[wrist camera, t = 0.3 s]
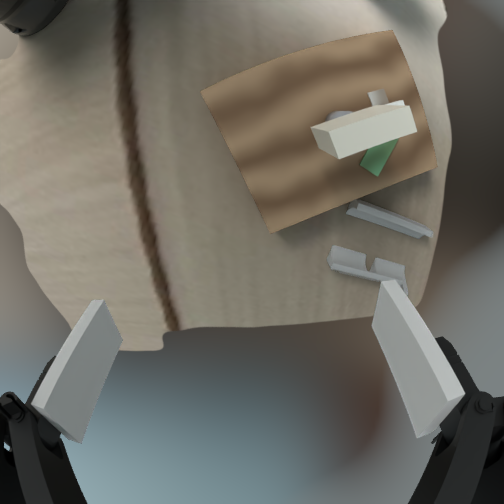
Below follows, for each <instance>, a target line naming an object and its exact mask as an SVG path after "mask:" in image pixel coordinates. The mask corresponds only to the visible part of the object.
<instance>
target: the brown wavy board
mask: <svg viewBox="0 0 504 504" xmlns="http://www.w3.org/2000/svg"><path fill="white" fill-rule="evenodd" d="M200 93H201V95H202V97H203V99H204V100H205V102H206V104H207V106H208V108H209V110H210V112H211V114H212V116H213V118H214V120H215V122H216V124H217V126H218V128H219V130H220V132H221V134H222V136H223V138H224V140H225V142H226V144H227V146H228V148H229V150H230V152H231V154H232V156H233V158H234V160H235V162H236V164H237V166H238V168H239V170H240V172H241V174H242V176H243V178H244V180H245V182H246V184H247V186H248V188H249V190H250V192H251V194H252V196H253V198H254V201H255V203H256V205H257V207H258V209H259V211H260V213H261V215H262V217H263V219H264V221H265V224H266V226H267V228H268V230H269V232H270V234H272V233H274V232H277V231H279V230H282V229H284V228H286V227H289V226H291V225H294V224H296V223H299V222H301V221H304V220H306V219H309V218H311V217H313V216H316V215H318V214H321V213H323V212H326V211H328V210H331V209H333V208H336V207H338V206H341V205H343V204H346V203H348V202H351V201H353V200H356V199H358V198H361V197H363V196H366V195H368V194H371V193H373V192H376V191H378V190H381V189H383V188H386V187H388V186H391V185H393V184H396V183H398V182H401V181H403V180H406V179H408V178H411V177H413V176H416V175H418V174H421V173H424V172H426V171H429V170H431V169H434V168H436V167H438V166H437V161H436V156H435V151H434V147H433V142H432V138H431V134H430V130H429V126H428V123H427V119H426V116H425V112H424V109H423V106H422V102H421V99H420V96H419V93H418V90H417V87H416V85H415V82H414V79H413V76H412V74H411V71H410V69H409V66H408V64H407V61H406V59H405V56H404V54H403V52H402V49H401V47H400V45H399V43H398V41H397V38H396V36H395V34H394V32H393V30H389V31H382V32H375V33H370V34H364V35H359V36H354V37H349V38H345V39H340V40H336V41H332V42H328V43H324V44H320V45H317V46H313V47H310V48H306V49H303V50H300V51H297V52H293V53H290V54H287V55H284V56H281V57H279V58H276V59H273V60H270V61H268V62H265V63H262V64H260V65H257V66H255V67H252V68H250V69H247V70H245V71H242V72H240V73H238V74H235V75H233V76H231V77H229V78H226V79H224V80H222V81H220V82H218V83H216V84H213V85H211V86H209V87H207V88H205V89H203V90H201V91H200ZM399 100H403V101H404V104H405V106H410V109H411V112H412V115H413V119H414V122H415V125H416V129H417V132H415V133H412V134H409V135H406V136H403V137H400V138H397V139H394V140H391V141H388V142H385V143H382V144H380V145H377V146H374V147H371V148H368V149H366V150H363V151H360V152H357V153H355V154H352V155H349V156H347V157H344V158H341V159H337V158H336V157H334V156H332V155H330V154H329V153H327V152H325V151H323V150H321V149H319V147H318V145H317V142H316V140H315V137H314V135H313V132H312V130H311V128H310V127H313V126H315V125H318V124H321V123H324V122H325V119H326V117H327V115H328V114H329V113H331V112H333V111H351V112H356V111H359V110H362V109H365V108H369V107H372V106H375V105H385V104H388V103H392V102H395V101H399Z"/></svg>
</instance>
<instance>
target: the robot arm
mask: <svg viewBox="0 0 504 504" xmlns="http://www.w3.org/2000/svg"><path fill="white" fill-rule="evenodd" d="M67 1H68V0H0V24H2V25H3V26H4V27H6V28H7V29H8V30H10V31H11V32H12V33H14V34H18V35H24V36H27V35H31V34H34V33H36V32H38V31H39V30H41V29H42V28H44V27H45V26H46V25H47V24H49V23H50V22H51V21H52V20H53V19H54V18H55V17H56V16H57V15H58V13H59V12H60V11H61V10H62V8H63V7H64V6H65V4H66V3H67ZM372 328H373V330H374V333H375V335H376V337H377V339H378V341H379V344H380V346H381V348H382V350H383V352H384V355H385V357H386V360H387V362H388V364H389V367H390V369H391V371H392V374H393V376H394V379H395V381H396V384H397V386H398V389H399V391H400V394H401V396H402V399H403V401H404V404H405V407H406V409H407V412H408V415H409V417H410V420H411V423H412V426H413V429H414V432H415V434H416V437H417V438H419V437H421V436H424V435H427V434H430V433H432V432H434V431H435V429H436V428H437V427H438V426H439V425H440V428H441V430H442V431H441V432H440V433H439V434H438V435H437V436H436V437H435V438H434V439H433V441H432V442H431V443H432V444H433V443H435V442H436V441H437V442H436V444H435V447H434V450H433V452H432V455H431V457H430V459H429V462H428V464H427V467H426V469H425V471H424V473H423V475H422V477H421V479H420V482H419V483H418V486H417V487H416V489H415V491H414V493H413V495H412V497H411V499H410V501H409V503H408V504H504V397H496V398H493V397H492V396H491V395H490V394H488V393H486V392H482V391H479V390H478V388H477V387H476V385H475V383H474V382H473V379H472V377H471V376H470V374H469V372H468V370H467V369H466V367H465V366H464V364H463V362H461V359H460V357H459V355H457V352H456V350H455V349H454V347H453V346H452V344H451V343H450V342H449V341H447V340H446V339H445V338H444V337H438V338H434V337H433V335H432V334H431V332H430V331H429V329H428V327H427V326H426V324H425V323H424V321H423V320H422V318H421V316H420V315H419V313H418V312H417V310H416V309H415V307H414V306H413V304H412V303H411V301H410V300H409V298H408V297H407V296H406V294H405V293H404V291H403V290H402V288H401V287H400V286H399V284H398V283H397V281H396V280H389V281H382V282H381V285H380V290H379V295H378V300H377V304H376V309H375V313H374V318H373V322H372ZM122 341H123V339H122V337H121V335H120V333H119V331H118V329H117V327H116V325H115V323H114V321H113V318H112V316H111V314H110V312H109V310H108V307H107V305H106V303H105V301H104V300H92V301H91V303H90V304H89V306H88V307H87V309H86V310H85V312H84V313H83V315H82V316H81V318H80V319H79V321H78V322H77V324H76V325H75V327H74V329H73V330H72V332H71V333H70V335H69V337H68V338H67V340H66V341H65V343H64V345H63V346H62V348H61V350H60V351H59V353H58V355H57V356H54V357H53V358H52V359H51V360H50V361H49V362H48V363H47V365H46V366H45V368H44V370H43V373H41V375H40V377H39V380H38V381H37V382H36V384H35V386H34V388H33V390H32V392H31V394H30V396H29V398H28V400H27V402H26V403H25V404H24V403H23V402H22V401H21V400H20V399H19V398H18V397H17V396H16V395H15V394H14V393H13V392H6V393H4V394H3V395H2V396H1V397H0V504H87V502H86V500H85V497H84V495H83V493H82V491H81V489H80V486H79V484H78V482H77V479H76V477H75V474H74V472H73V469H72V467H71V464H70V461H69V458H68V455H67V453H66V449H65V446H64V443H63V441H62V439H61V438H60V434H61V433H62V434H63V435H64V436H65V437H66V438H68V439H69V440H72V441H75V442H78V443H81V444H82V441H83V438H84V434H85V432H86V429H87V426H88V423H89V421H90V418H91V415H92V413H93V410H94V407H95V405H96V402H97V400H98V397H99V394H100V392H101V390H102V387H103V385H104V382H105V380H106V377H107V375H108V373H109V370H110V368H111V366H112V363H113V361H114V359H115V357H116V354H117V352H118V350H119V348H120V345H121V343H122ZM4 442H5V443H6V444H7V445H8V446H10V450H9V451H8V450H6V449H5V448H4Z"/></svg>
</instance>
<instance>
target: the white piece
mask: <svg viewBox="0 0 504 504" xmlns="http://www.w3.org/2000/svg"><path fill="white" fill-rule="evenodd" d="M310 128H311V130H312V132H313V135H314V137H315V140H316V142H317V145H318V147H319V149H321V150H323V151H325V152H327V153H329V154H330V155H332V156H334V157H336V158H337V159H341V158H344V157H347V156H349V155H352V154H355V153H357V152H360V151H363V150H366V149H368V148H371V147H374V146H377V145H380V144H382V143H385V142H388V141H391V140H394V139H397V138H400V137H403V136H406V135H409V134H412V133H415V132H417V129H416V125H415V122H414V119H413V115H412V112H411V109H410V106H405V104H404V101H403V100H399V101H395V102H392V103H388V104H385V105H375V106H372V107H369V108H365V109H362V110H359V111H356V112H351V111H333V112H331V113H329V114H328V115H327V117H326V119H325V122H324V123H321V124H318V125H315V126H313V127H310Z"/></svg>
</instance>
